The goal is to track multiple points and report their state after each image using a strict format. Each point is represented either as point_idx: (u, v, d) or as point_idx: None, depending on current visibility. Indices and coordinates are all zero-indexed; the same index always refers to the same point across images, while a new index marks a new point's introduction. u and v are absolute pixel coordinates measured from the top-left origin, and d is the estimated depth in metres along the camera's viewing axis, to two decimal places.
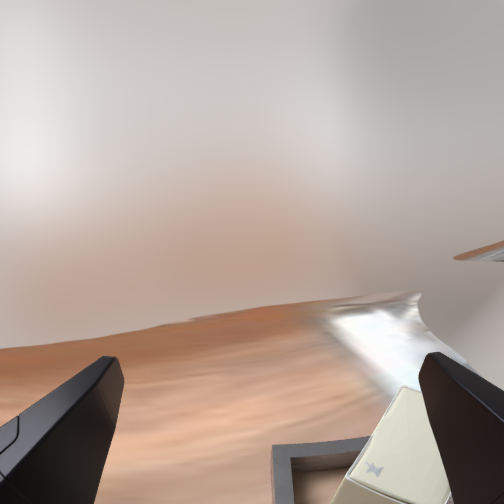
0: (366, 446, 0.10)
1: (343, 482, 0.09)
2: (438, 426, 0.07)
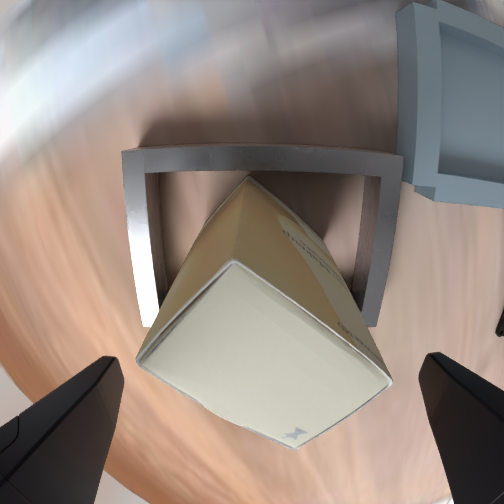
0: (255, 431, 0.09)
1: None
2: (438, 426, 0.07)
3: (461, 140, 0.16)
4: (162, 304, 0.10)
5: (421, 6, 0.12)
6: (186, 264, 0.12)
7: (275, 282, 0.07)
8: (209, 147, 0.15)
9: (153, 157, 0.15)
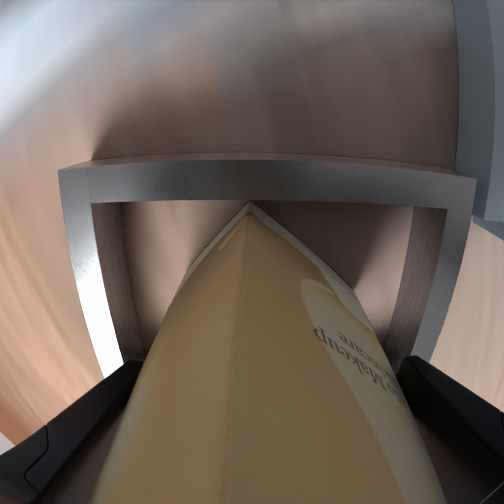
0: None
1: None
2: None
3: None
4: (101, 468, 0.05)
5: None
6: (143, 383, 0.06)
7: None
8: (186, 162, 0.09)
9: (101, 179, 0.09)
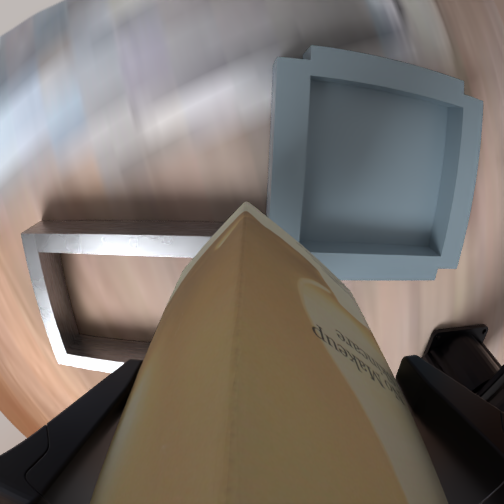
0: None
1: None
2: None
3: (344, 206, 0.18)
4: (102, 468, 0.05)
5: (287, 60, 0.13)
6: (142, 382, 0.06)
7: None
8: (78, 234, 0.16)
9: (41, 240, 0.16)
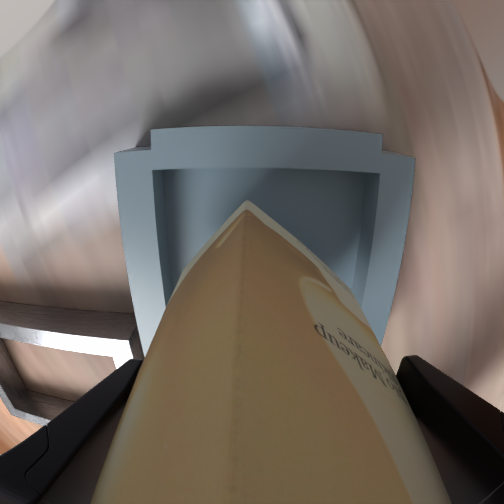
0: None
1: None
2: None
3: None
4: (103, 468, 0.05)
5: (125, 156, 0.12)
6: (143, 381, 0.06)
7: None
8: None
9: None
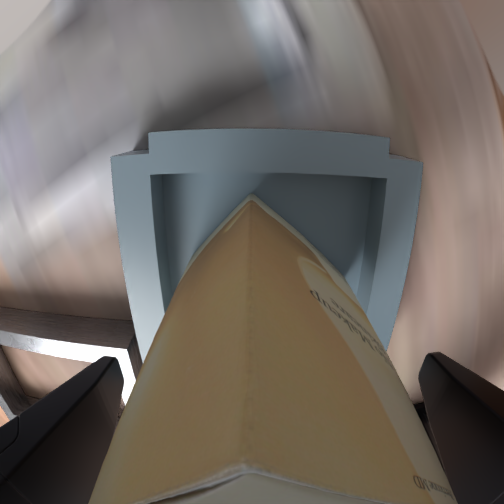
0: None
1: None
2: (438, 426, 0.07)
3: None
4: (122, 414, 0.06)
5: (122, 160, 0.11)
6: (160, 339, 0.08)
7: (333, 475, 0.03)
8: None
9: None
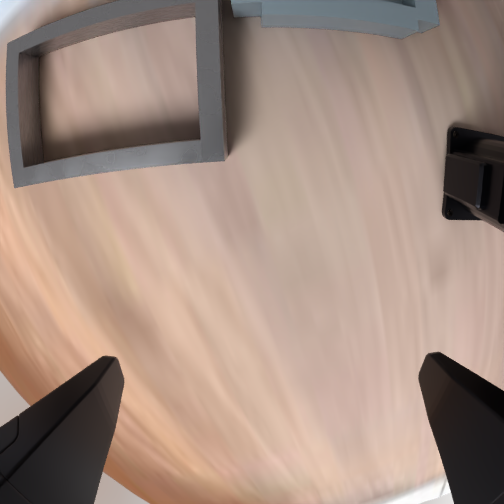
0: None
1: None
2: (438, 426, 0.07)
3: None
4: None
5: None
6: None
7: None
8: (58, 21, 0.13)
9: (24, 40, 0.13)
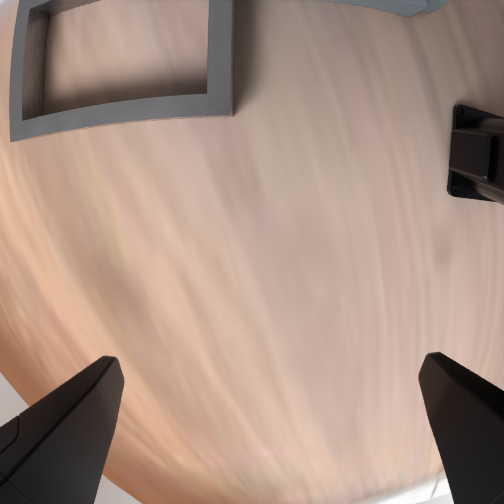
0: None
1: None
2: (438, 426, 0.07)
3: None
4: None
5: None
6: None
7: None
8: None
9: None
